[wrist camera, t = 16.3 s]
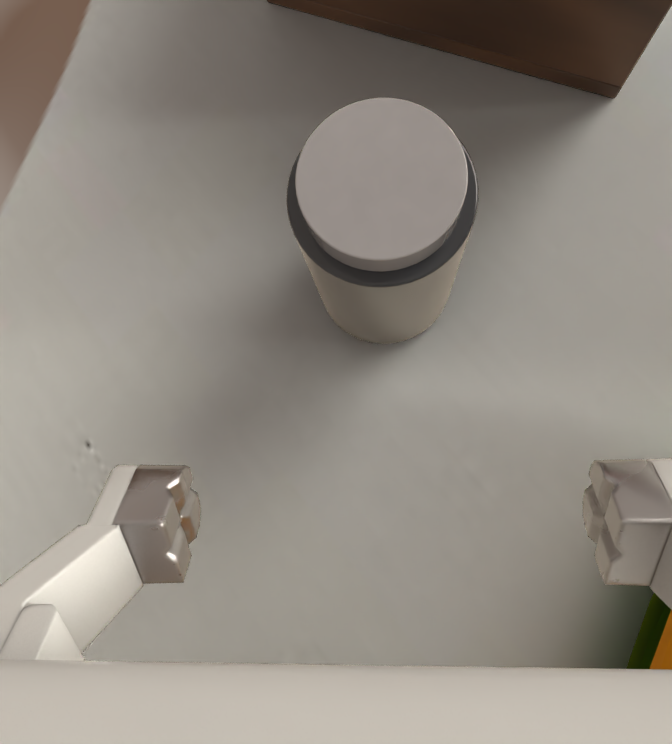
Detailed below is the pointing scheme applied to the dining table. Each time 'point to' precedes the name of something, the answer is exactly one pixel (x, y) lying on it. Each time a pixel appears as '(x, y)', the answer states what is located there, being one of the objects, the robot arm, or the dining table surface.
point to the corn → (654, 638)
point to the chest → (516, 32)
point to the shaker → (383, 215)
